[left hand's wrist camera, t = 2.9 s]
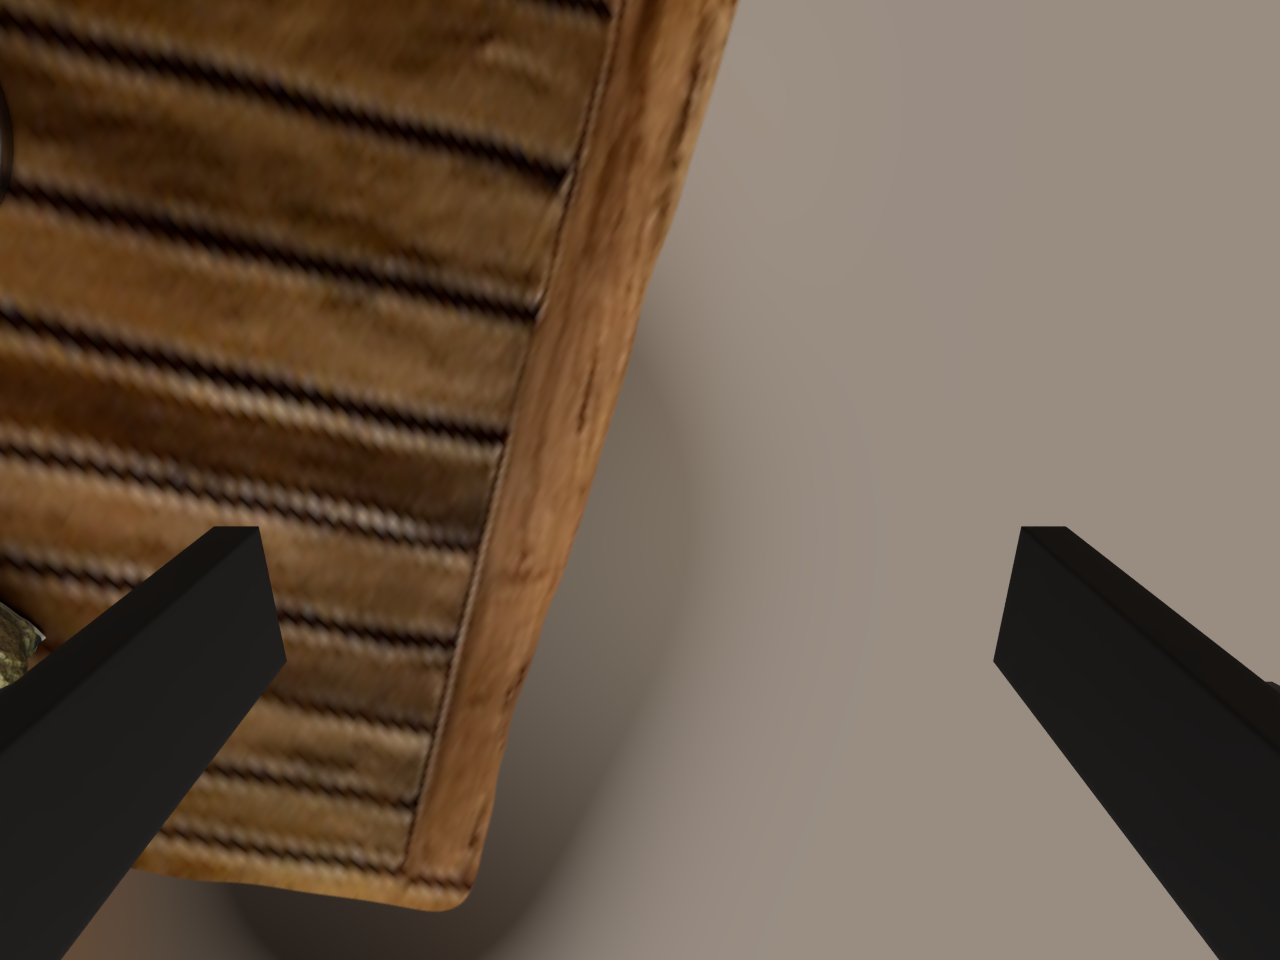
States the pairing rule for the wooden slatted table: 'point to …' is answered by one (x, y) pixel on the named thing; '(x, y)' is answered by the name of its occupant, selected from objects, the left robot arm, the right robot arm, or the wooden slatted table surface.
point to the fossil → (15, 645)
